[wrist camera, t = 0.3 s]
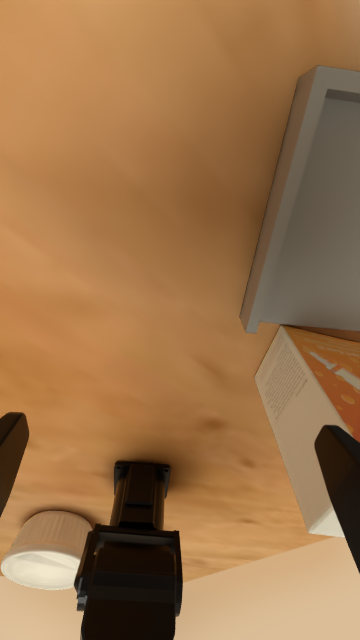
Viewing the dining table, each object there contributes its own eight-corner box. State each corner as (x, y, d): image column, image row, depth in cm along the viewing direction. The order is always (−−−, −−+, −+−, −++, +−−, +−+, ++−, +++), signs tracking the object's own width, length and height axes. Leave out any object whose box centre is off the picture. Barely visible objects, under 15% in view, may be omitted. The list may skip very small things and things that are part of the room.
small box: (364, 341, 25) (522, 493, 13) (327, 393, 28) (432, 553, 16) (279, 321, 24) (373, 469, 12) (251, 377, 27) (306, 537, 15)
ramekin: (94, 504, 38) (82, 552, 33) (105, 544, 43) (96, 590, 38) (9, 505, 37) (-14, 553, 33) (31, 545, 43) (14, 591, 38)
